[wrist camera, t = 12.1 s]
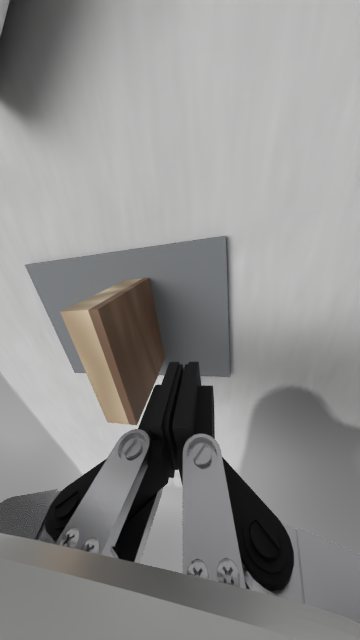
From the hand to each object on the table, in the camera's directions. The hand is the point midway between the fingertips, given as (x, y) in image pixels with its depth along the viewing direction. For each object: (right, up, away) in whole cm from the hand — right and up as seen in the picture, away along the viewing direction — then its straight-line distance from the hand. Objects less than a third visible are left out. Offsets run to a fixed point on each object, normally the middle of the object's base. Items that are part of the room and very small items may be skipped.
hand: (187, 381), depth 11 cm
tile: (-4, +3, +8) cm, 10 cm away
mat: (-6, +4, +9) cm, 11 cm away
